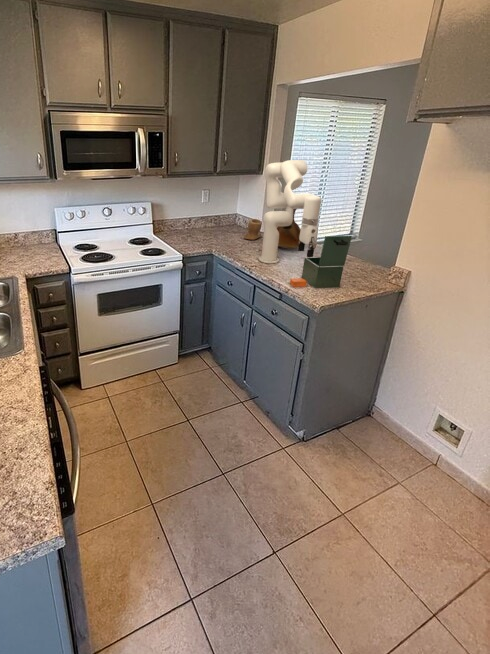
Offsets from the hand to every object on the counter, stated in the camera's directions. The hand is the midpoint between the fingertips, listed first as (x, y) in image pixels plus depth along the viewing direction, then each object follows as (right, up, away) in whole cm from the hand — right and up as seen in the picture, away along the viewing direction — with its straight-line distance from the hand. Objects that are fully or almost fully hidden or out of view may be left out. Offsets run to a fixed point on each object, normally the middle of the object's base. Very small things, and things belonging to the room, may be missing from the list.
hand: (305, 254), depth 184 cm
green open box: (+12, -15, +11) cm, 22 cm away
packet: (-1, -16, +7) cm, 18 cm away
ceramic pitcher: (+14, +9, +70) cm, 72 cm away
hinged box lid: (+13, +1, -4) cm, 14 cm away
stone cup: (-4, +17, +91) cm, 93 cm away
